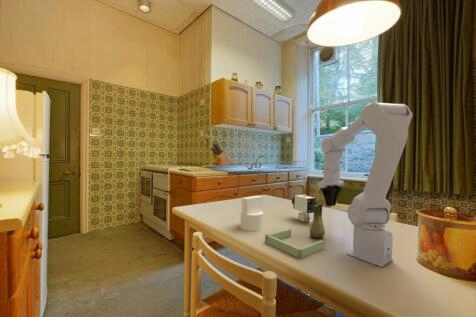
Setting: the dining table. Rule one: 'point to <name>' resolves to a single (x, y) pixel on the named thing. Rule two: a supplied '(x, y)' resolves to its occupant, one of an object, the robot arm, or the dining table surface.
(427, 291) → the dining table surface
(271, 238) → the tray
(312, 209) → the pneumatic valve
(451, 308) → the dining table surface
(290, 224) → the dining table surface
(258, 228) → the cylinder with rectangular tab
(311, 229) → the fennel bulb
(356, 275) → the dining table surface
